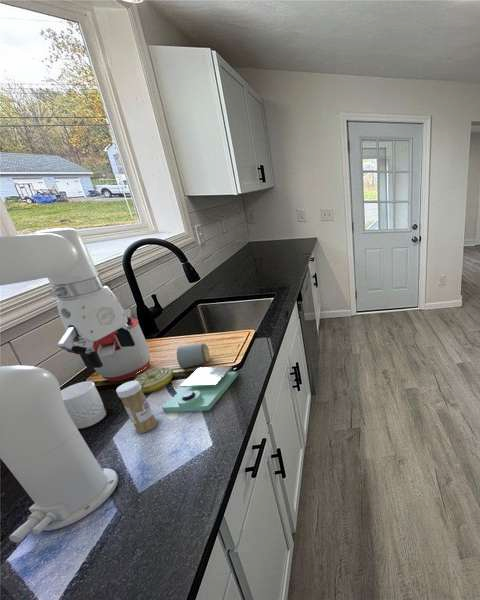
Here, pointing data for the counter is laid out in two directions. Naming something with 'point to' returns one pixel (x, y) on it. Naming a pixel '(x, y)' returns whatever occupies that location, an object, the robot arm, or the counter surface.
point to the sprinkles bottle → (137, 406)
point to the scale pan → (206, 377)
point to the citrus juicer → (122, 355)
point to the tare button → (188, 395)
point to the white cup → (83, 404)
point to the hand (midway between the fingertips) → (112, 355)
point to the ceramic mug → (192, 355)
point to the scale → (200, 396)
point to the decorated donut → (154, 379)
